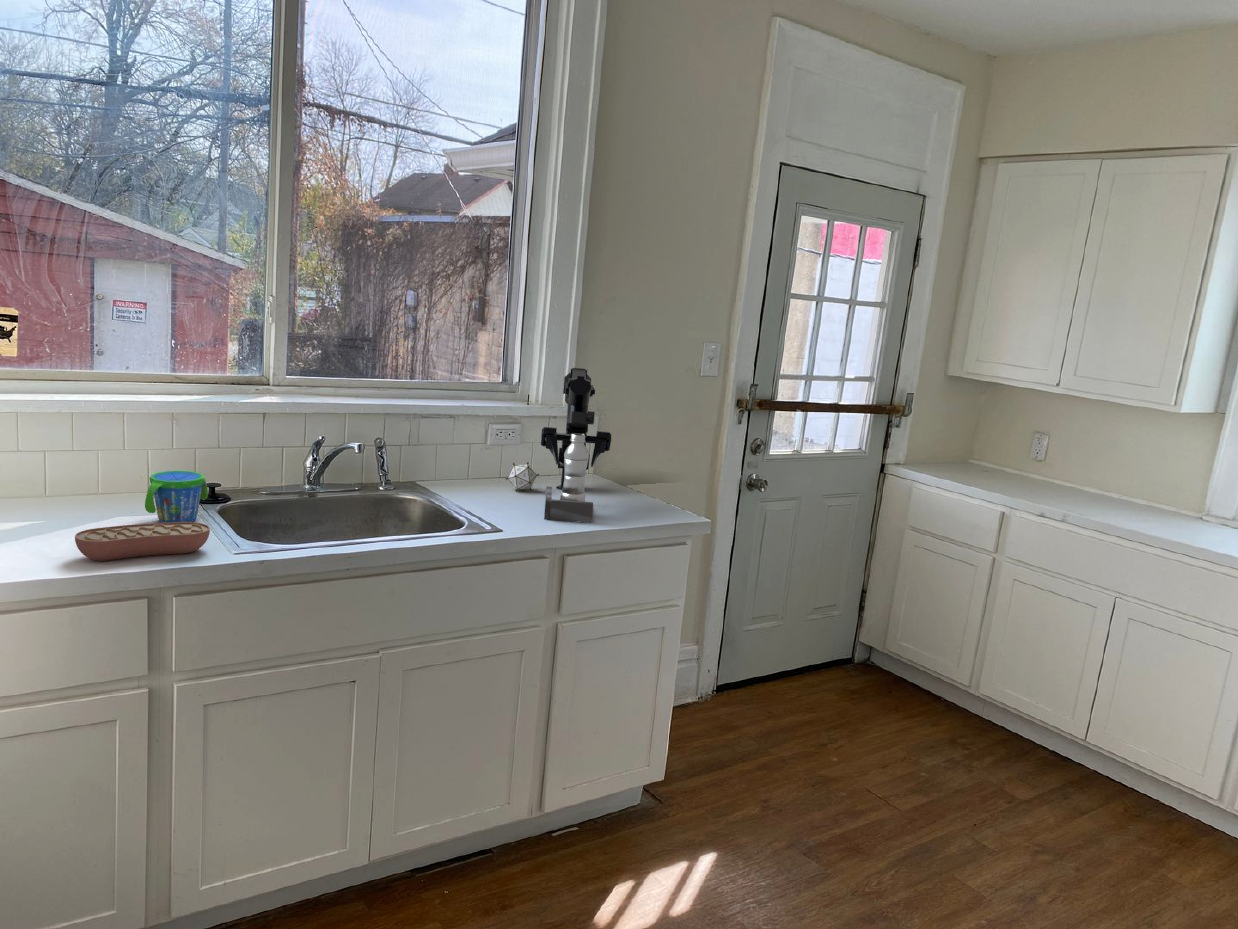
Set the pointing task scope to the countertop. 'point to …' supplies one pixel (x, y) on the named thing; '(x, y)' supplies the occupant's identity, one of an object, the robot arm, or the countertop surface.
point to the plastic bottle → (575, 469)
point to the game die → (522, 476)
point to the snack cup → (176, 495)
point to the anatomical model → (141, 540)
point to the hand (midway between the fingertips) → (574, 464)
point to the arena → (567, 509)
